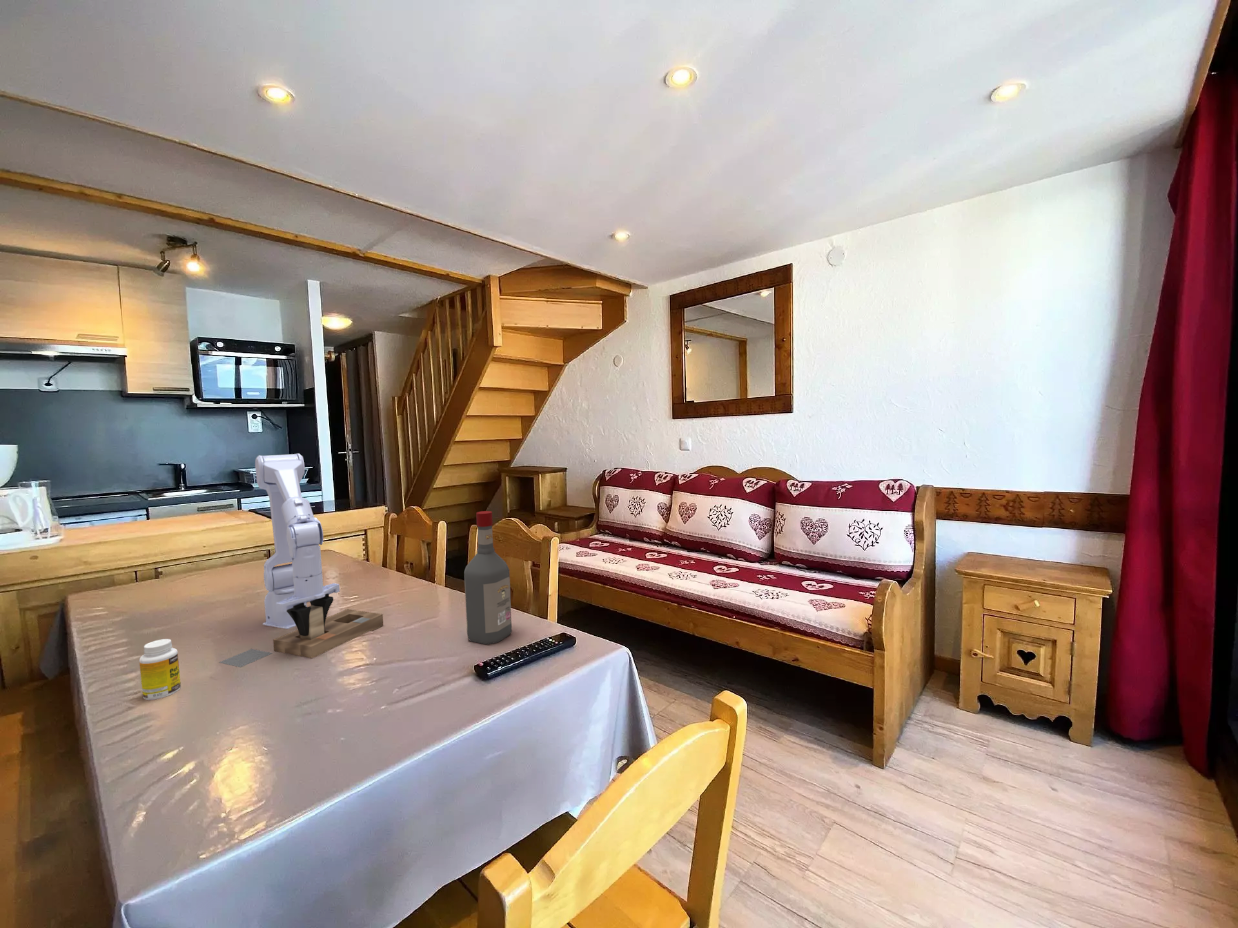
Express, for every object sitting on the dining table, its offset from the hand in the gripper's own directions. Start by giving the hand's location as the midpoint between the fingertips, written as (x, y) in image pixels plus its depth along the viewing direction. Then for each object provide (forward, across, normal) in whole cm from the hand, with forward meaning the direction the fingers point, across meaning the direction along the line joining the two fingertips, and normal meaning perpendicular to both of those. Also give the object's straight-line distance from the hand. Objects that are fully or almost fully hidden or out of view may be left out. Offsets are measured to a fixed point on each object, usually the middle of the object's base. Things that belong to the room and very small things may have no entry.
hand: (312, 631), depth 120 cm
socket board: (+4, +5, 0) cm, 6 cm away
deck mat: (+4, -10, +8) cm, 13 cm away
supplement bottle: (+4, -25, +9) cm, 27 cm away
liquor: (+4, +18, -36) cm, 40 cm away
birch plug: (+2, 0, 0) cm, 3 cm away
